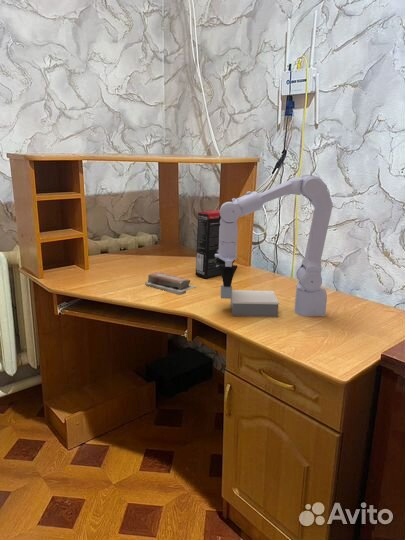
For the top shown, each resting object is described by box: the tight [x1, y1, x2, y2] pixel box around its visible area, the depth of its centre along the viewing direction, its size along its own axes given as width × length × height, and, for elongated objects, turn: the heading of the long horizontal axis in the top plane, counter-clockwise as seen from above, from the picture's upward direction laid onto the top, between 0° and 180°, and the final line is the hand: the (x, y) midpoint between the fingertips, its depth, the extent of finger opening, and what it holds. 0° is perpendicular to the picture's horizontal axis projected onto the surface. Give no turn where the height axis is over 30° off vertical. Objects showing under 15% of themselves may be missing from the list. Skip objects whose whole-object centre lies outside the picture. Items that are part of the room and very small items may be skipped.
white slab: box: [220, 284, 280, 305], centre depth 135 cm, size 18×11×4 cm, turn 90°
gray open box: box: [230, 299, 279, 318], centre depth 136 cm, size 14×11×5 cm
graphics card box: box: [195, 209, 222, 279], centre depth 176 cm, size 17×7×27 cm, turn 135°
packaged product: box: [144, 271, 197, 296], centre depth 161 cm, size 18×5×10 cm
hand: (226, 282), depth 134 cm, fingers open, 7 cm apart
